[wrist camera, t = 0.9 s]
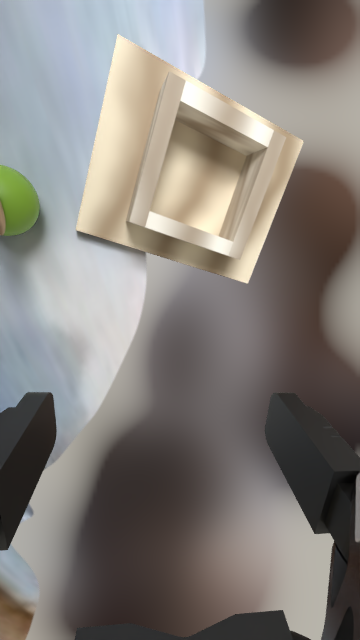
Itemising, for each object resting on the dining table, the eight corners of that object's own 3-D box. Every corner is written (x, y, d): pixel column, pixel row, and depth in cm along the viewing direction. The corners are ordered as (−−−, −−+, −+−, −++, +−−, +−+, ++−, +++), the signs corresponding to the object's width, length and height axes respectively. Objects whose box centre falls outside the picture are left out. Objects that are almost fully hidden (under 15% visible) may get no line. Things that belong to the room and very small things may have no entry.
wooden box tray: (76, 229, 28) (71, 232, 23) (117, 41, 24) (121, -1, 19) (243, 282, 35) (265, 291, 30) (297, 143, 30) (332, 130, 26)
